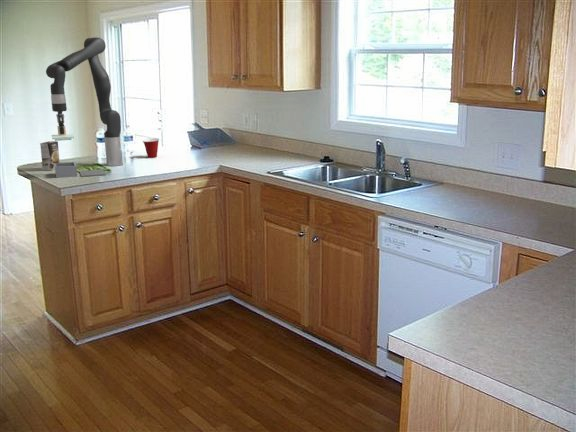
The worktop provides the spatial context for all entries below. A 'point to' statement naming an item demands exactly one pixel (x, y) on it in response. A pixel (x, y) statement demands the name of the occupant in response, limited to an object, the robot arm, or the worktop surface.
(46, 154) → the coffee box
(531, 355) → the worktop surface
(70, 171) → the tub
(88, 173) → the mat
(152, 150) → the plastic cup
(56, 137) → the lid
